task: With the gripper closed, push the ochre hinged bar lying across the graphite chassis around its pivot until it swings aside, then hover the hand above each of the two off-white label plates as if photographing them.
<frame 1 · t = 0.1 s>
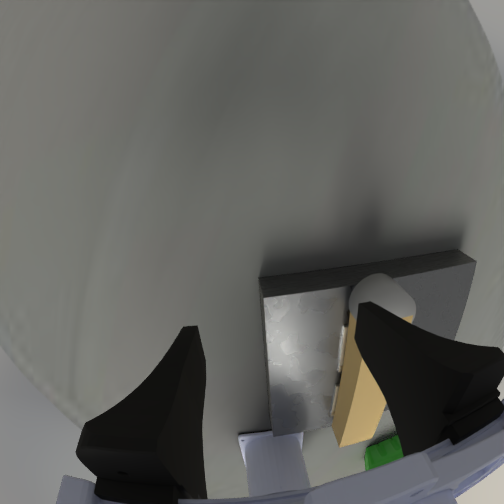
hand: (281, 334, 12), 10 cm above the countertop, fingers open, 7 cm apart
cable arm: (367, 377, 21), point 5 cm above the countertop, hinge at 0.0°
chassis: (364, 344, 27), on the countertop
fruit basket: (388, 444, 38), on the countertop
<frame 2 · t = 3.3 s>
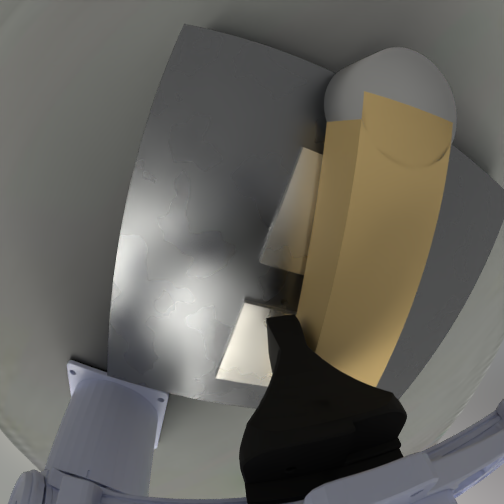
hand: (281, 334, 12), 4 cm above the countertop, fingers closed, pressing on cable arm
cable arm: (356, 289, 11), point 5 cm above the countertop, hinge at 13.4°, touching gripper
chassis: (317, 265, 16), on the countertop
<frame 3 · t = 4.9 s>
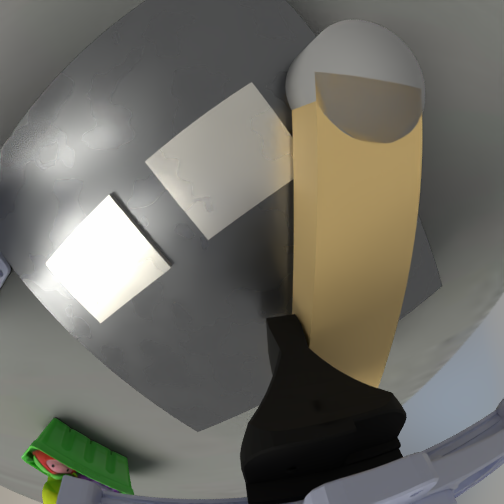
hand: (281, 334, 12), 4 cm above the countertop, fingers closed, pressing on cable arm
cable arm: (347, 277, 11), point 5 cm above the countertop, hinge at 56.8°, touching gripper
chassis: (203, 223, 15), on the countertop
fruit basket: (83, 444, 23), on the countertop
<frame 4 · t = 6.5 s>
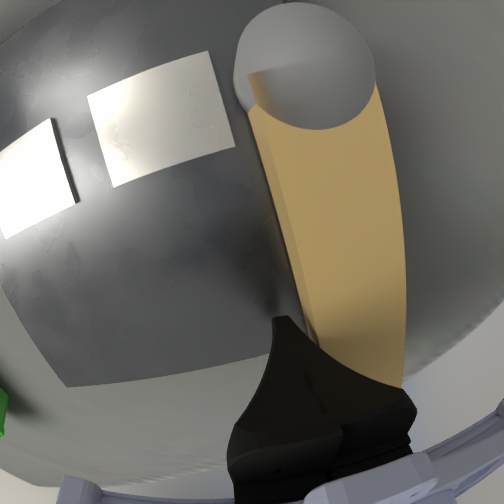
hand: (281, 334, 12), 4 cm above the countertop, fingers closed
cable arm: (344, 265, 11), point 5 cm above the countertop, hinge at 91.7°, touching gripper
chassis: (128, 179, 14), on the countertop
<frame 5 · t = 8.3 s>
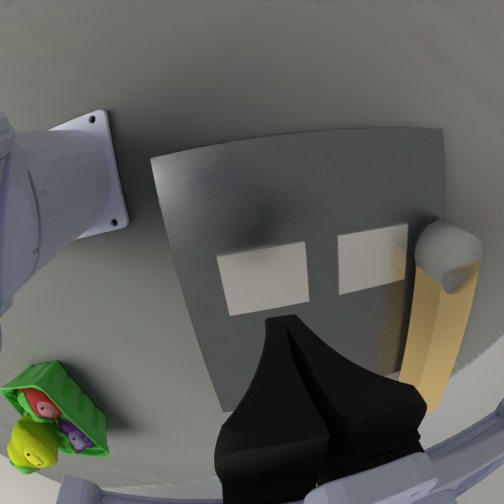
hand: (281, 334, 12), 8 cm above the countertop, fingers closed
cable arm: (435, 338, 19), point 5 cm above the countertop, hinge at 91.7°
chassis: (317, 273, 21), on the countertop
fruit basket: (64, 391, 24), on the countertop
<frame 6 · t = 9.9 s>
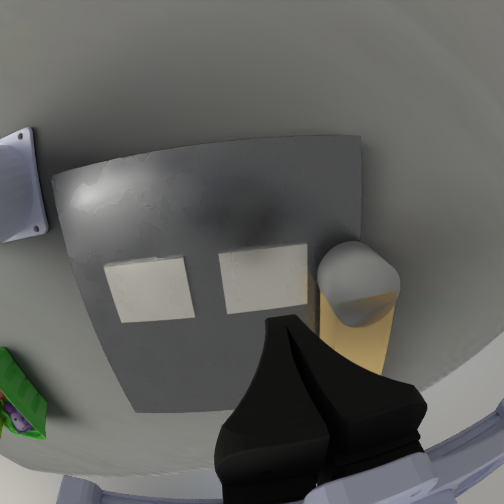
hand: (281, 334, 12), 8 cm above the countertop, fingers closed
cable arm: (349, 370, 18), point 5 cm above the countertop, hinge at 91.7°
chassis: (219, 289, 21), on the countertop
fruit basket: (13, 376, 23), on the countertop
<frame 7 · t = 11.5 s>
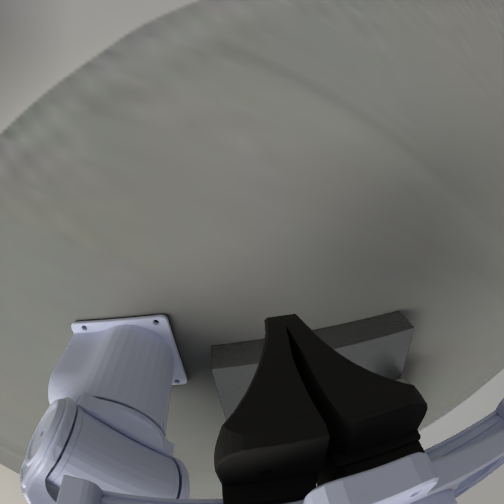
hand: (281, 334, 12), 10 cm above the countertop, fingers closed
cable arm: (385, 435, 27), point 5 cm above the countertop, hinge at 91.7°
chassis: (310, 399, 29), on the countertop
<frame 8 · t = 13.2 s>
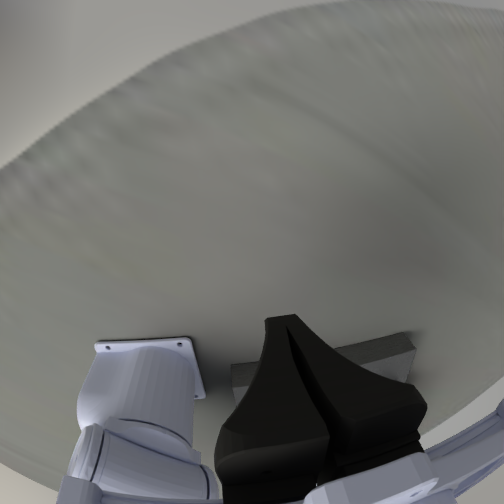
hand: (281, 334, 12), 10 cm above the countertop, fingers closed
chassis: (318, 411, 30), on the countertop
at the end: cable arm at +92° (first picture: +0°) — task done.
